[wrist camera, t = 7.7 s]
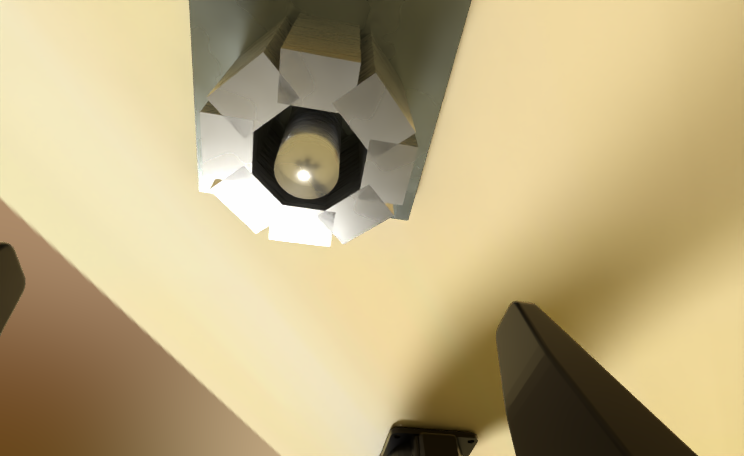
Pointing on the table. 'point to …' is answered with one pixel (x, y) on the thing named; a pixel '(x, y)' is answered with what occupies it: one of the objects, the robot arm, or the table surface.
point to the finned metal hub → (322, 128)
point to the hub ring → (321, 92)
